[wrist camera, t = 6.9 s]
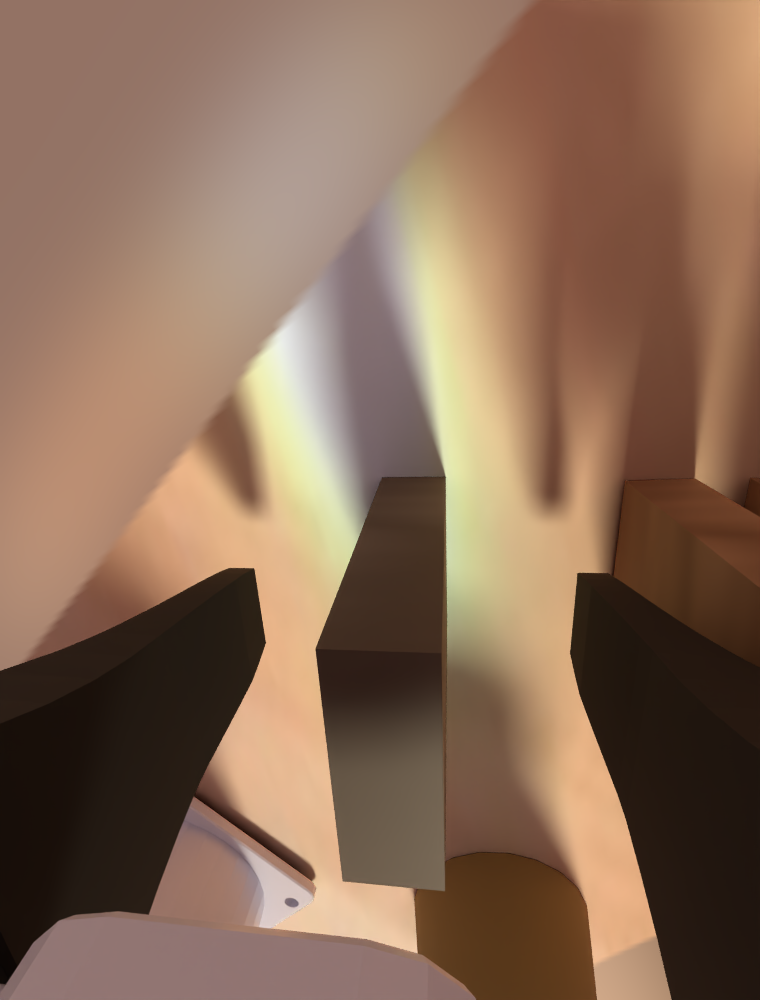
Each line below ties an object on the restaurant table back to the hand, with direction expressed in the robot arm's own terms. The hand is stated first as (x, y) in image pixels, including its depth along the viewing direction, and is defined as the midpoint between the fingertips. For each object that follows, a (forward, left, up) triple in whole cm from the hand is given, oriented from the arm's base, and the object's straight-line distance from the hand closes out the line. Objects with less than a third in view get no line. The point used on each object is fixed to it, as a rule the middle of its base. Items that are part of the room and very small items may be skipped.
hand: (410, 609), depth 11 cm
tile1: (0, 0, -2) cm, 3 cm away
